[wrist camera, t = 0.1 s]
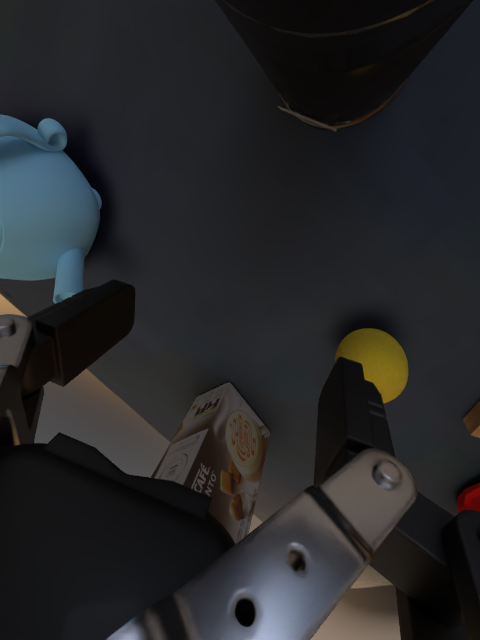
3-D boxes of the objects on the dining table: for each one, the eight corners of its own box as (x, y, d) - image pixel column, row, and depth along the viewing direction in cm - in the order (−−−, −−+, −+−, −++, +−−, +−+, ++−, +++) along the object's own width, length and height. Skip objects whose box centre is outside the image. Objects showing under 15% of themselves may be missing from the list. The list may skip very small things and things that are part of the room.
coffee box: (193, 397, 38) (114, 528, 24) (230, 380, 35) (164, 519, 21) (235, 445, 40) (184, 592, 26) (273, 433, 37) (239, 592, 23)
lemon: (385, 304, 26) (404, 354, 19) (405, 354, 27) (430, 416, 21) (325, 325, 28) (323, 375, 21) (347, 370, 30) (351, 430, 23)
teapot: (-33, 195, 33) (-194, 207, 23) (3, 41, 25) (-225, -48, 14) (104, 318, 36) (14, 377, 26) (178, 217, 27) (89, 245, 17)
